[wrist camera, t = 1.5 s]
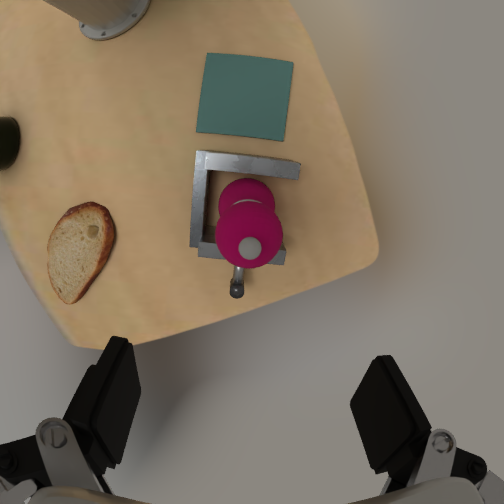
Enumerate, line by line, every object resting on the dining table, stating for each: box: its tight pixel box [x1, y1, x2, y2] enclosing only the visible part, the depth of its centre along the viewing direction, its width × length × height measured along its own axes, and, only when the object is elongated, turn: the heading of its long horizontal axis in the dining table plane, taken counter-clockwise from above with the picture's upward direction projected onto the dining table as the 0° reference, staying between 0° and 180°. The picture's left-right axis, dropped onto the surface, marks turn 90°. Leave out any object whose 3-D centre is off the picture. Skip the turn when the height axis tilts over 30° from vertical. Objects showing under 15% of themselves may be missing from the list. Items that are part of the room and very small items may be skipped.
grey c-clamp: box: [190, 150, 301, 299], centre depth 37 cm, size 20×13×7 cm, turn 173°
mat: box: [196, 53, 293, 141], centre depth 34 cm, size 12×12×1 cm
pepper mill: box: [215, 178, 283, 268], centre depth 30 cm, size 7×7×20 cm
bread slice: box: [47, 202, 114, 304], centre depth 40 cm, size 18×18×4 cm
